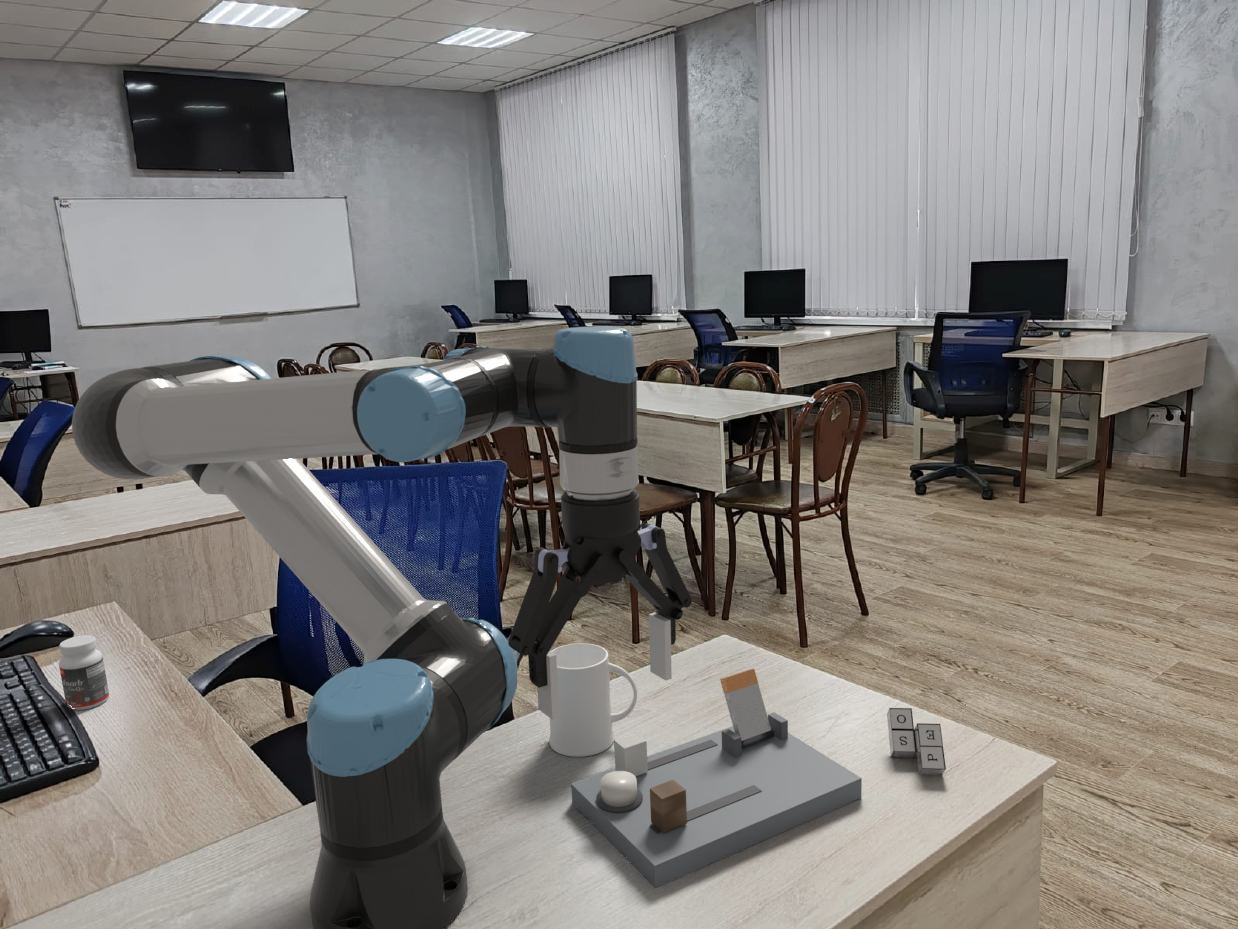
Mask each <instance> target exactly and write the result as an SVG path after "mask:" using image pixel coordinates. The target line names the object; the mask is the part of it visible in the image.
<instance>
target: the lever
mask: <svg viewBox="0 0 1238 929" xmlns="http://www.w3.org/2000/svg"><path fill="white" fill-rule="evenodd" d="M719 680H720V684H721V688H722V691H723V694H724V695H723V696H724V698H725V701H726V706H727V708H728V709H727V710H728V713H729V716H730V720H731V723H732V726H733V728H734V731H735V733H736V734H737V735H739V736H740V737H741V748H745V747H747V746H750V745H753V744H755V743H758V742H761V741H764V740H766V739H769V738H772V737H774V731H773V730H772V728H771V727H770V724H769V720H768V713H767V710H766V707H765V704H764V699H763V696H762V692H761V688H760V685H759V681H758V677H757V672H756V670H755V668H750V669H747V670H743V671H740V672H737V673H734V674H731V675H727V676H725V677H722V678H719Z"/></svg>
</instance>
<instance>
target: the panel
mask: <svg viewBox="0 0 1238 929" xmlns="http://www.w3.org/2000/svg"><path fill="white" fill-rule="evenodd" d="M767 717H768V720H769V724H770V727H771V728H772V730H773V731H774V737H772V738H769V739H766V740H764V741H761V742H758V743H755V744H753V745H750V746H747V747H745V748H741V737H740V736H739V735H737V734H736V733H735V731H734V728H733V725H732V726H730V727H729V726H728V727H727V728H724V729H722V730H718V731H716V732H713V733H710V734H707V735H703V736H702V737H698V738H695V739H692V740H690V741H687V742H684V743H681V744H678V745H676V746H673V747H670V748H667V749H665V750H661V751H659V752H656V753H653V754H651V755H647V765H648V772H646V773H644V774H641V775H638V776H635V777H636V779H637V799H636V801H635V802H633V803H632V804H630V805H628V806H623V807H613V806H609V805H607V804H605V803H604V802H603V801H602V796H601V779H602V777H603V776H604V775H606V774H607V773H610V772H614V771H615V767H613V768H611V769H609V770H606V771H603V772H599V773H597V774H595V775H591V776H589V777H586V778H583V779H580V780H578V781H574V782H571V783H570V787H571V788H570V791H571V802H572V804H573V806H575V808H576V809H577V810H578V811H580V813H582V814H583V815H584V817H586V818H587V820H588V821H589V822H590V823H591V824H592V825H593V826H595V828H596V829H597V830H598V831H599V832H600V833H601V834H602V835H603V836H604V837H605V838H606V839H607V840H608V841H609V842H610V843H611V844H612V845H613V846H614V847H615V848H616V849H617V850H618V851H619V852H620V854H621V855H622V856H624V858H626V859H627V860H628V861H629V862H630V863H631V864H632V865H633V867H635V868H636V870H637V871H638V872H639V873H640V874H641V875H643V877H644V878H646V879H647V881H648V882H650V883H651V885H652V886H653V887H654V888H658V887H660V886H663V885H665V884H667V883H670V882H671V881H672V882H673V881H675V880H677V879H678V878H681V877H683V876H686V875H688V874H690V873H692V872H695V871H697V870H699V869H702V868H704V867H706V866H708V865H711V864H713V863H715V862H718V861H720V860H722V859H725V858H727V857H729V856H732V855H734V854H736V853H739V852H740V851H741V852H742V851H743V850H745V849H748V848H749V847H752V846H754V845H757V844H759V843H761V842H763V841H766V840H768V839H770V838H773V837H775V836H778V835H780V834H783V833H784V832H787V831H788V830H790V829H791V830H792V829H793V828H796V827H798V826H801V825H803V824H805V823H808V822H809V821H811V820H814V819H816V818H819V817H822V816H823V815H825V814H828V813H830V812H832V811H834V810H837V809H839V808H841V807H843V806H845V805H848V804H850V803H852V802H855V801H858V800H859V799H861V798H862V785H863V784H862V783H863V782H862V779H863V778H862V776H859V775H857V774H855V772H852V771H851V770H849V769H848V768H846V767H844V766H843V765H841V764H840V763H838V762H836V761H835V760H833V759H832V758H830V757H829V756H826V755H825V754H823V753H822V752H820V751H818V750H817V749H816V748H814V747H812V746H810V745H809V744H808V743H805V742H804V741H803V740H801V739H800V738H797V736H794V735H793V734H791V733H790V732H789V731H788V730H789V720H788V719H786V718H785V717H783V716H782V715H779V714H778V713H776V712H773V711H772V712H770V713H767ZM671 780H674V781H676V782H677V783H678V784H679V785H681V786H682V787H683V788H684V789H685V790H686V808H687V824H685V825H683V826H680V827H678V828H675V829H673V830H670V831H668V832H665V833H662V832H661V831H660V830H659V829H658V828H657V827H656V826H655V825H654V824H653V823H651V808H650V788H652V787H655V786H657V785H660V784H663V783H665V782H668V781H671Z"/></svg>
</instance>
